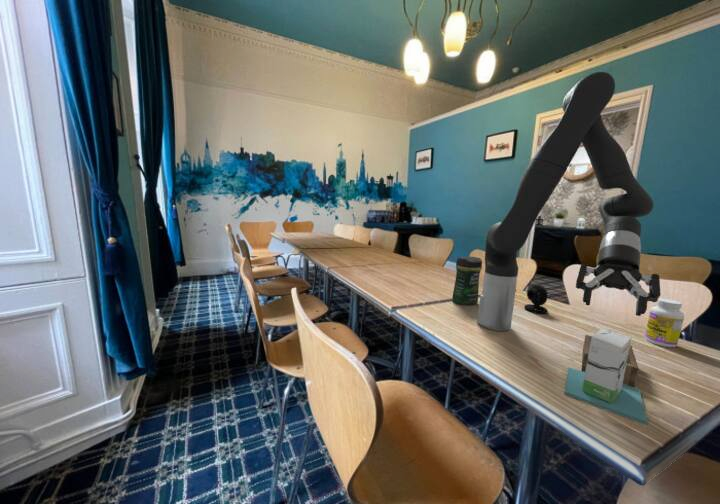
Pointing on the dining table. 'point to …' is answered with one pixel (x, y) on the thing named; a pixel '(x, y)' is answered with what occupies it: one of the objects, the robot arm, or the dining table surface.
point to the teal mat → (623, 404)
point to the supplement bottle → (665, 323)
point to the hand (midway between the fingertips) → (612, 308)
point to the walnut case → (630, 366)
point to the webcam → (537, 299)
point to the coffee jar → (467, 280)
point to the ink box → (606, 364)
